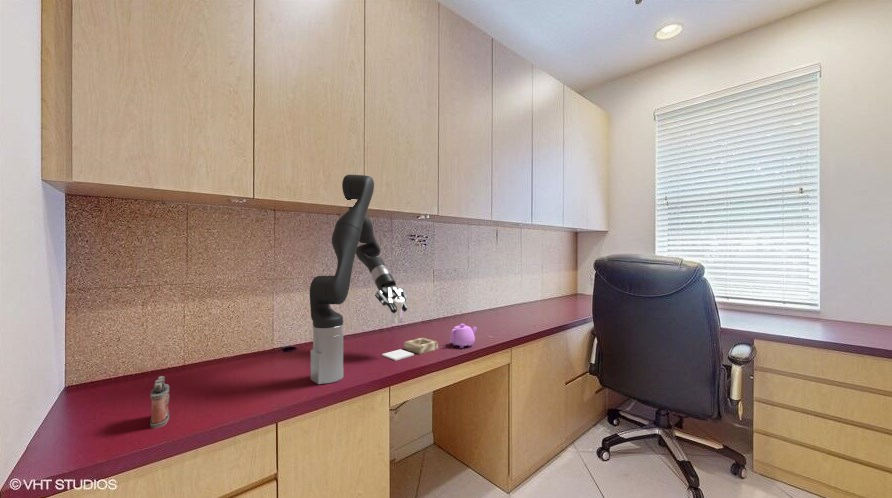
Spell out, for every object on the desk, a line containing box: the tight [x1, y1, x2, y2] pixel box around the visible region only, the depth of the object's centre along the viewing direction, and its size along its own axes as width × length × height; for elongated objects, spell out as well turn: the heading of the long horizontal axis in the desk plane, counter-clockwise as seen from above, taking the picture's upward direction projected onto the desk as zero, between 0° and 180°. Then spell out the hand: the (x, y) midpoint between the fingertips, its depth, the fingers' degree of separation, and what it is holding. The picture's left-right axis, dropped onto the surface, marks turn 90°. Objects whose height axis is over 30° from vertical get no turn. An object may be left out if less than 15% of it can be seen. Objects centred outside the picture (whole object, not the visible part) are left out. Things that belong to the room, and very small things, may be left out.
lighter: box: [149, 375, 170, 429], centre depth 80 cm, size 8×3×10 cm, turn 35°
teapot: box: [449, 323, 478, 349], centre depth 144 cm, size 10×15×9 cm
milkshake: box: [392, 296, 404, 324], centre depth 130 cm, size 4×5×10 cm
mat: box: [381, 348, 415, 362], centre depth 130 cm, size 9×9×1 cm
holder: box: [403, 337, 439, 355], centre depth 138 cm, size 10×10×3 cm
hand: (400, 311), depth 128 cm, fingers closed on milkshake, 4 cm apart
